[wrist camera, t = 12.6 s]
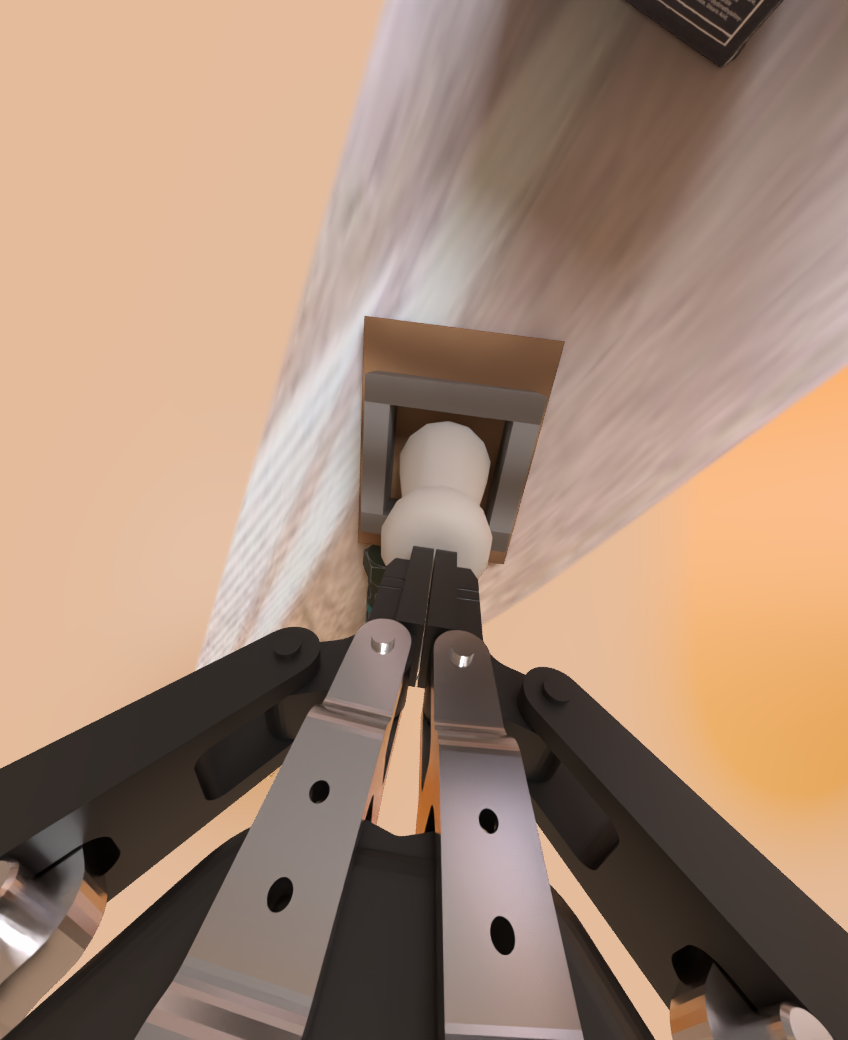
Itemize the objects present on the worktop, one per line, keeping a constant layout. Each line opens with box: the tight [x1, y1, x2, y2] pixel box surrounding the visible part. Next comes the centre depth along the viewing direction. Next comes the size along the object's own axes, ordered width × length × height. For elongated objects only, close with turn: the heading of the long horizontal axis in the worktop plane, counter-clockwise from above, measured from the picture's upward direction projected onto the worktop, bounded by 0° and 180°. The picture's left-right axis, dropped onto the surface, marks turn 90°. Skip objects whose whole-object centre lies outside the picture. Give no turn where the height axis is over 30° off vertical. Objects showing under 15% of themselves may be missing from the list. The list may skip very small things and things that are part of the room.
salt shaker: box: [381, 421, 492, 590], centre depth 18 cm, size 6×6×13 cm
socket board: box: [358, 316, 565, 564], centre depth 23 cm, size 16×12×4 cm
